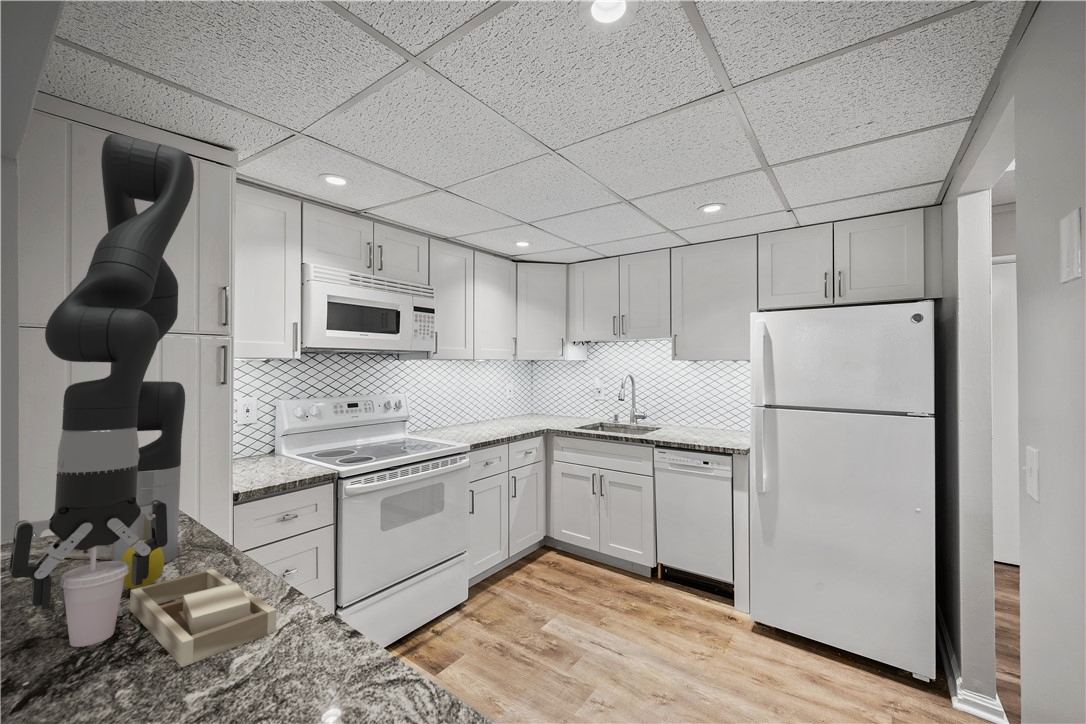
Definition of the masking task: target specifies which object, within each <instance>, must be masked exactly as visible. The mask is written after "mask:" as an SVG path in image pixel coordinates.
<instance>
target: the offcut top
mask: <svg viewBox="0 0 1086 724" xmlns="http://www.w3.org/2000/svg"><path fill="white" fill-rule="evenodd" d="M240 587H241V585H239V584H238V582H234V583H231V584H227V585H223V586H219V587H215V588H211V589H207V590H203V591H199V592H195V593H191V594H187V595H183V597H182V599H183V612H184V615H185V618H186V620H187V623H188V625H189V628H190V631H191V633H192V635H194V634H197V633H200V632H204V631H207V630H210V629H212V628H215V627H218V626H221V625H224V624H227V623H230V622H233V621H235V620H238V619H241V618H244V617H247V616H250V601H249V599H248V598H247V596H246V595H245V594H244V592H243V591H242V589H241V588H240Z"/></svg>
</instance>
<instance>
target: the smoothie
mask: <svg viewBox="0 0 1086 724" xmlns="http://www.w3.org/2000/svg"><path fill="white" fill-rule="evenodd" d="M96 557H97V546H95V547H92V548H91V557H90V559H89V564H85V565H82V566H78V567H75V568H72V569H70V570H67V571H66V572H64V573H62V574H61V575H60V579H59V580H60V582H59V587H61V588H63V597H64V604H65V612H66V622H67V630H68V631H67V633H68V638H69V641H68V642H69V645H70V646H71V647H73V648H79V647H87V646H88V647H89V646H91V645H92V646H93V645H96V644H98V643H101V642H104V641H106V640H107V639H109V638H112V636H113V635H114V634H115V630H116V624H117V617H118V614H119V609H120V604H121V600H122V594H123V589H124V586H125V585H124V579H125V575H126V574H128V573H129V564H128V563H127V562H124V561H113V560H106V561H100V562H97V560H96Z"/></svg>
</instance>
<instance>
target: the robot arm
mask: <svg viewBox="0 0 1086 724" xmlns="http://www.w3.org/2000/svg"><path fill="white" fill-rule="evenodd" d="M100 162H101V178H102V185H103V194H104V195H103V197H104V204H105V206H104V207H105V213H106V223H107V233H105V234H104V236H102V238H101V239H100V240H99V242H98V243H97V245H96V248H95V250H94V252H93V256H92V257H91V261H90V264H89V266H88V270H87V272H86V275H85V277H84V278H83V279H82V280H80V282H79V283H78V284H77V286H75V288H74V289H73V290H72V291H71V293H69V294H68V295H67V296H66V297H65V299H63V301H61V302H60V304H59V305H58V306H57V307H56V308H55V310H53V312H52V313H51V316H50V317H49V318H48V321H47V324H46V326H45V332H44V338H45V343H46V345H47V348H48V349H49V351H50V352H51V353H52V354H53V355H54V356H56V357H57V358H59V359H60V360H63V361H66V362H73V363H74V362H75V363H108V364H109V363H110V372H109V375H108V376H106V377H102V378H99V379H95V380H86V381H80V382H75V383H72V384H70V385H68V387H66V389H65V391H64V394H63V403H62V404H63V405H62V407H63V408H62V409H63V410H62V424H61V425H62V427H61V429H62V431H61V436H60V439H59V445H58V447H57V448H58V449H57V461H56V479H55V480H56V481H55V482H56V483H55V498H54V512H53V514H52V516H50V518H49V519H43V520H35V521H29V520H20V521H18V522H17V523H16V524H15V527H14V532H13V537H12V538H13V539H12V545H11V546H12V547H11V551H10V559H9V567H8V571H9V573H10V575H11V577H12V578H13V579H21V578H29V579H31V594H30V601H31V602H32V604H33V606H34V607H35V608H36V607H38V608H39V609H40V611H45V610H49V609H50V608H51V593H52V576H51V574H50V573H51V572H52V571H54V569H55V568H56V567H57V565H58V564H59V563H60V562H62V561H64V560H65V559H64V558H65V557H66V556H67V555H68V554H69V553H70V552H71V551H72V550H73V549H77V550H80V551H81V550H86V549H90V548H92V547H95V546H106V545H111V544H113V560H112V561H121V559H122V557H123V555H124V553H125V552H126V551H127V550H128V549H129V548H130V547H131V548H133V549H134V550H135V554H132V576H131V581H132V584H133V585H134V586H137V585H141V584H142V582H143V579H147V577H148V574H149V556H150V553H151V552H152V551H153V550H155V549H157V548H159V547H160V548H161V550H162V552H163V555H164V564H166V563H169V562H171V561H173V560H174V559H176V558H177V557H178V541H179V539H178V537H179V522H180V521H179V519H180V517H179V516H180V496H181V495H180V493H181V492H180V491H181V473H182V472H181V468H182V438H183V437H182V436H183V427H184V418H185V417H184V416H185V409H186V407H185V406H186V391H185V387H184V386H183V384H182V383H180V382H179V381H178V382H177V381H159V380H158V381H154V380H153V381H152V380H151V381H147V380H144V379H145V376H146V373H147V370H148V368H149V366H150V363H151V361H152V359H153V356H154V354H155V351H156V350H157V346H158V344H159V342H160V341H161V340H162V339H163V338H164V336H165V335H166V334H167V333H169V331H170V330H171V328H172V327H173V326H174V324H175V323H176V321H177V319H178V314H179V282H178V280H177V277H176V275H175V273H174V272H173V270H172V269H171V267H170V265H169V264H168V263H167V261H166V260H165V258H164V257H163V256H164V254H165V251H166V250H167V249H166V248H167V247H168V245H169V243H170V241H171V240H172V237H173V236H174V233H175V232H176V230H177V228H178V226H179V224H180V222H181V220H182V218H183V216H184V214H185V211H186V209H187V207H188V205H189V203H190V201H191V198H192V195H193V191H194V185H195V183H194V182H195V172H194V165H193V161H192V159H191V157H190V155H189V154H188V153H187V152H186V151H184V150H182V149H180V148H177V147H174V146H169V145H166V144H161V143H158V142H154V141H149V140H145V139H141V138H137V137H132V136H128V135H126V134H125V135H124V134H119V133H112V134H108V135H107V136H106V137H105V140H104V141H103V144H102V148H101V161H100ZM135 200H137V201H138V200H139V201H143V202H144V201H145V202H149V203H153V204H151V205H150V206H148V207H147V208H146V209H144V210H143V211H141V212H139V213H138V211H137V208H136V207H137V206H136V203H135ZM151 431H153V432H154V431H160V432H161V435H160V436H159V437H158V438H157V439H155V440H153V441H151V442H150V443H148V444H146V445H143V446H141V447H139V437H138V435H139V434H138V432H151ZM47 530H50V531H51V533H53V534H54V536H56V537H57V538H56V539H55V541H53V543H52V544H51V545H50V546H49V547H48V548H47V549H46V551H45V553H44V554H43V555H42V556H41V557H40V558H39V559H38V560H37V561H36V563H30V562H29V559H30V554H31V547H32V542H34V541H36V540H39V539H40V538H41V536H42V534H43V533H44V531H47ZM58 537H59V538H58ZM142 540H146V541H145V542H143V541H142ZM60 543H62V544H60ZM65 548H66V549H65Z"/></svg>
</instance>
